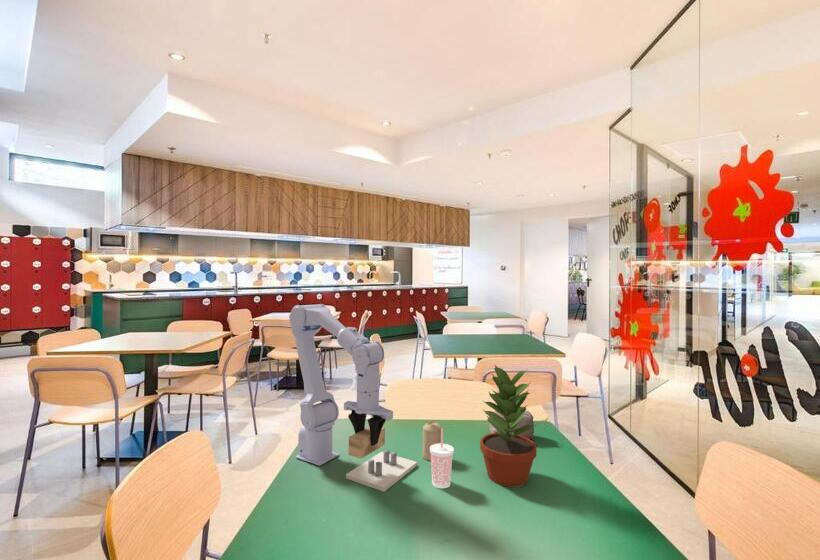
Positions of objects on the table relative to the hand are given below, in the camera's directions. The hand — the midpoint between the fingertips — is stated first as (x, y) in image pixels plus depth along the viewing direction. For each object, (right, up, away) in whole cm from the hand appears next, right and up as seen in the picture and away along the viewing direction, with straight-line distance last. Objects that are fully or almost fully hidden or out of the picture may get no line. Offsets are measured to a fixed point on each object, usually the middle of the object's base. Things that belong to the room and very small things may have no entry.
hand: (367, 442), depth 104 cm
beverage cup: (+19, -10, -2) cm, 21 cm away
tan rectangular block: (0, -2, 0) cm, 2 cm away
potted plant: (+37, -10, +2) cm, 38 cm away
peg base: (+4, -9, +4) cm, 11 cm away
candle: (+17, -10, +13) cm, 24 cm away
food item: (+44, -10, +28) cm, 54 cm away
